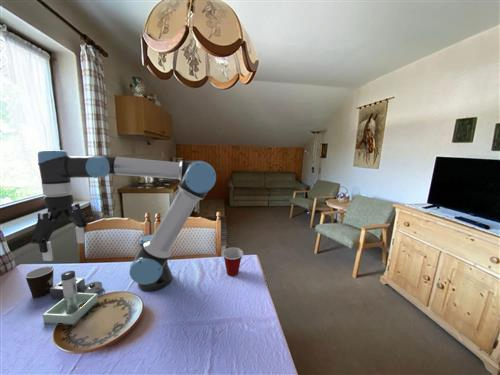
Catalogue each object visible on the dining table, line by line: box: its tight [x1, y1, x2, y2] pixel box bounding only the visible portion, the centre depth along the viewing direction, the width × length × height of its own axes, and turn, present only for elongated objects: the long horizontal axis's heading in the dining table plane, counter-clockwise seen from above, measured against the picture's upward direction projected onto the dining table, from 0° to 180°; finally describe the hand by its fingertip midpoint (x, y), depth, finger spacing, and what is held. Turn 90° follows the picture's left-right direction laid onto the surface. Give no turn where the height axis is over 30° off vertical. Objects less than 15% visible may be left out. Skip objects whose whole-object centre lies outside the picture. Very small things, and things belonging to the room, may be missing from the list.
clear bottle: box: [60, 270, 79, 314], centre depth 80 cm, size 4×4×16 cm
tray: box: [42, 292, 99, 326], centre depth 81 cm, size 11×12×4 cm
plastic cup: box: [222, 247, 244, 277], centre depth 109 cm, size 11×11×12 cm
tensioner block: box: [50, 277, 86, 301], centre depth 91 cm, size 8×8×5 cm
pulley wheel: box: [81, 281, 103, 295], centre depth 93 cm, size 7×7×3 cm
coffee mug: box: [24, 265, 54, 299], centre depth 92 cm, size 12×9×10 cm
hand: (66, 250), depth 77 cm, fingers open, 13 cm apart
